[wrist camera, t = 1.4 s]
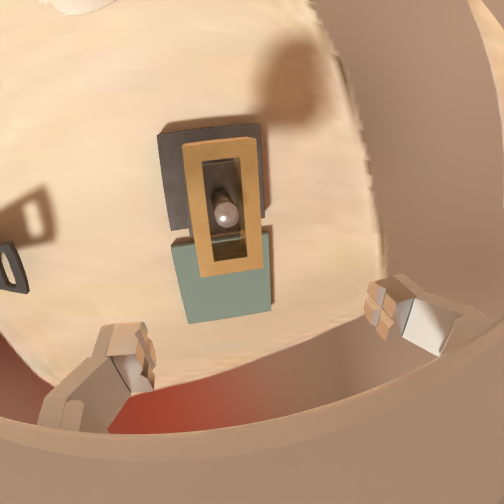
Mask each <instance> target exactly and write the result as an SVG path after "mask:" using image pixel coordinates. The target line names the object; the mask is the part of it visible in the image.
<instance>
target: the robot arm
mask: <svg viewBox="0 0 504 504" xmlns="http://www.w3.org/2000/svg"><path fill="white" fill-rule="evenodd" d="M38 1H39V2H40V3H43V4H50V5H52V6H53V7H54V8H55V9H56V10H57V11H58V12H60V13H63V14H68V15H77V14H83V13H88V12H91V11H94V10H97V9H99V8H101V7H104V6H106V5H108V4H109V3H111V2H113V1H115V0H38ZM367 292H368V294H369V297H368V298H367V299H366V301H365V306H364V311H365V316H366V318H367V320H368V321H369V322H370V324H372V325H374V326H377V329H376V331H377V333H378V334H379V335H380V336H381V337H382V339H383V340H384V341H385V342H386V341H389V340H392V339H395V338H398V337H401V336H402V337H403V338H405V339H407V340H409V341H410V342H412V343H414V344H416V345H418V346H420V347H422V348H423V349H425V350H427V351H429V352H431V353H433V354H434V355H436V356H438V358H437V359H435V360H433V361H431V362H430V363H428V364H426V365H424V366H422V367H420V368H418V369H416V370H414V371H412V372H409V373H408V374H405V375H403V376H401V377H399V378H397V379H394V380H392V381H389V382H387V383H385V384H383V385H380V386H378V387H375V388H373V389H370V390H368V391H365V392H362V393H360V394H357V395H354V396H352V397H349V398H346V399H343V400H340V401H337V402H334V403H331V404H328V405H324V406H321V407H318V408H314V409H311V410H307V411H304V412H300V413H296V414H292V415H288V416H284V417H280V418H275V419H271V420H266V421H262V422H257V423H251V424H246V425H241V426H234V427H227V428H220V429H213V430H204V431H195V432H183V433H170V434H110V433H109V432H108V431H107V428H108V427H109V425H110V424H111V423H112V421H113V420H114V418H115V417H116V415H117V414H118V412H119V411H120V409H121V408H122V407H123V405H124V403H125V402H126V401H127V399H128V398H129V396H130V395H131V393H135V392H147V391H154V381H155V375H154V373H153V371H152V370H153V368H154V367H155V366H156V357H155V350H154V346H153V343H152V341H151V340H150V339H149V338H147V332H148V330H147V328H146V326H145V323H143V322H132V323H120V324H109V325H103V326H102V327H101V329H100V332H99V335H98V338H97V341H96V344H95V347H94V350H93V353H92V357H88V358H87V359H85V360H84V361H83V362H82V363H81V364H80V365H79V366H78V367H77V368H76V369H75V370H73V371H72V372H71V373H70V374H69V375H68V376H67V377H66V378H65V379H64V380H63V381H62V382H60V383H59V384H58V385H57V386H56V387H55V388H54V389H53V390H52V391H51V392H50V393H49V394H48V395H47V396H46V397H45V399H44V402H43V405H42V408H41V412H40V415H39V418H38V422H37V425H32V424H28V423H23V422H18V421H14V420H10V419H6V418H2V417H0V504H504V317H502V319H500V320H498V321H497V322H496V323H494V324H493V323H492V322H491V321H490V320H489V319H488V318H487V317H486V316H484V315H483V314H482V313H481V312H480V311H479V310H478V309H477V308H474V307H471V306H468V305H465V304H462V303H459V302H455V301H453V300H449V299H447V298H443V297H441V296H437V295H434V294H431V293H425V292H424V291H423V290H422V289H421V288H420V287H418V286H417V285H416V284H415V283H414V282H413V281H411V280H410V279H409V278H408V277H407V276H405V275H404V274H398V275H394V276H391V277H389V278H385V279H381V280H377V281H372V282H370V283H369V285H368V289H367Z"/></svg>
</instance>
